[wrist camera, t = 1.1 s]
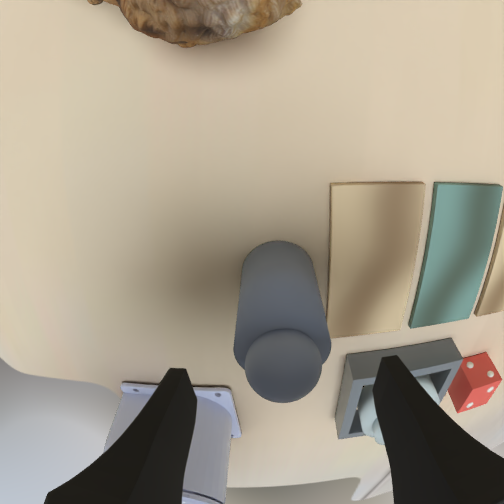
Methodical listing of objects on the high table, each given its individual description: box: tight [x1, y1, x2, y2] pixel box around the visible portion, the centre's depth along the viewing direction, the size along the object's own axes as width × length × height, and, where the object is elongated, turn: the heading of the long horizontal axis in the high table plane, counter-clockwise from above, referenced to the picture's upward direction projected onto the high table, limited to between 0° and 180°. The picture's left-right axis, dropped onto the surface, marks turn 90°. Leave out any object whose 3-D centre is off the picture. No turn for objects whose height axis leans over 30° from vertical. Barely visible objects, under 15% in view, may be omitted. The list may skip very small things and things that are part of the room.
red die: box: [448, 352, 502, 413], centre depth 20 cm, size 4×4×4 cm
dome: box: [357, 374, 440, 445], centre depth 20 cm, size 6×6×4 cm
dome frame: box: [335, 338, 463, 439], centre depth 21 cm, size 9×9×2 cm
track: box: [326, 182, 504, 338], centre depth 17 cm, size 17×10×1 cm, turn 95°
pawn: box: [234, 241, 331, 403], centre depth 14 cm, size 4×4×8 cm
